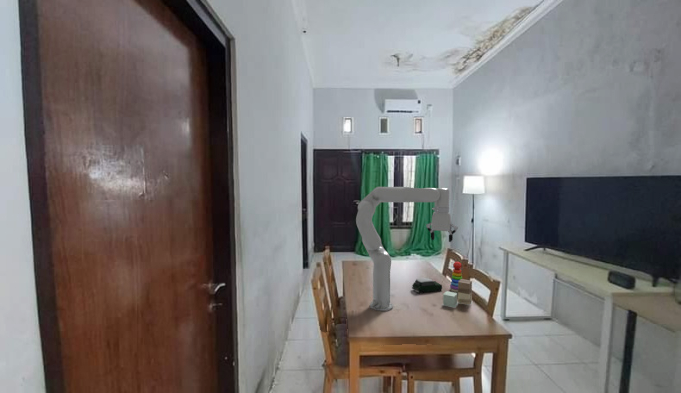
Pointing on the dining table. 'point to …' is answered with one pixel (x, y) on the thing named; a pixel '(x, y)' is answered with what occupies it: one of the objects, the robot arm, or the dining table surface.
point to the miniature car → (426, 285)
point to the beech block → (464, 298)
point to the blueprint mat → (457, 304)
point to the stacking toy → (456, 276)
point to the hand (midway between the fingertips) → (441, 240)
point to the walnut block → (465, 286)
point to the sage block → (450, 299)
